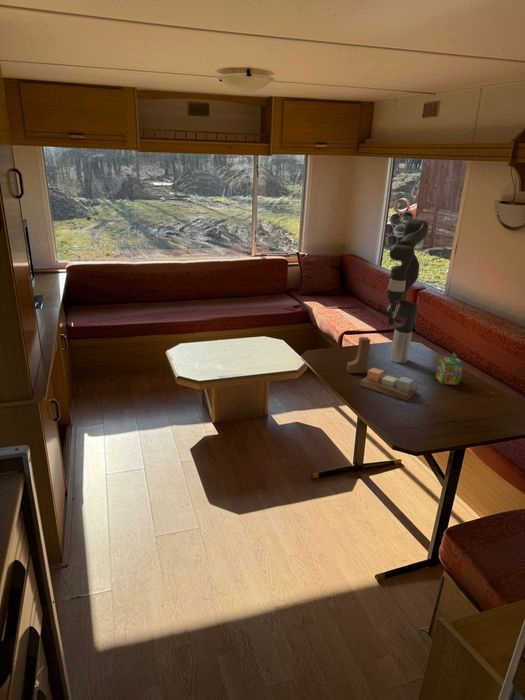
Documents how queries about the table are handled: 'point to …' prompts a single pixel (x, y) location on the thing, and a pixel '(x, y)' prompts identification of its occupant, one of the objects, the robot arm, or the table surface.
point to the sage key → (389, 381)
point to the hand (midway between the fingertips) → (390, 324)
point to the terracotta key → (375, 375)
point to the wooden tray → (388, 389)
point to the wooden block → (360, 357)
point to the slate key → (404, 384)
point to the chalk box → (449, 370)
